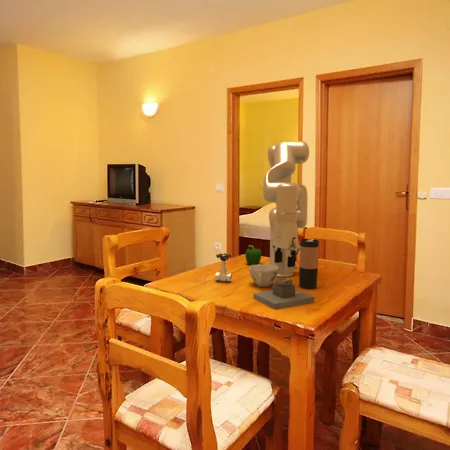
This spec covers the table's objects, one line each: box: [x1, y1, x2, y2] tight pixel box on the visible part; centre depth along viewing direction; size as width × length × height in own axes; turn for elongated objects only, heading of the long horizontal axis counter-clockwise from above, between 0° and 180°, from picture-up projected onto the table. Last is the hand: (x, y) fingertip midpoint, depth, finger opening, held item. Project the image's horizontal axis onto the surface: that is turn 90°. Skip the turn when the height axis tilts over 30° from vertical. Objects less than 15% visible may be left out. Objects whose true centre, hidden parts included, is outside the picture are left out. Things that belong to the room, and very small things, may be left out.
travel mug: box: [298, 238, 320, 290], centre depth 172 cm, size 8×8×20 cm
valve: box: [215, 252, 232, 283], centre depth 179 cm, size 7×7×12 cm
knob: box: [272, 277, 296, 298], centre depth 154 cm, size 7×7×6 cm
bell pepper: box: [244, 244, 262, 266], centre depth 213 cm, size 8×8×10 cm
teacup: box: [248, 263, 279, 288], centre depth 174 cm, size 15×12×8 cm
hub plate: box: [253, 288, 315, 310], centre depth 154 cm, size 18×14×6 cm
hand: (284, 264), depth 153 cm, fingers open, 7 cm apart
